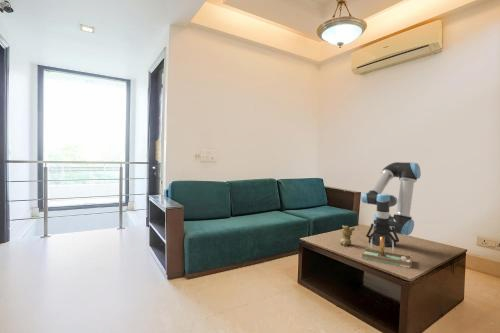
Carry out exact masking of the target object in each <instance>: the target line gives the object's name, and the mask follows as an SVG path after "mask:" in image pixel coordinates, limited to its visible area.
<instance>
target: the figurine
mask: <svg viewBox="0 0 500 333" xmlns="http://www.w3.org/2000/svg"><path fill="white" fill-rule="evenodd" d="M341 227H342V230H341V231H342V232H341V233H342V235H341V236H342V237H341V238H340V239H339V244H340V245H342V246H344V247H349V246H351V244H352V240H351V238H352V237H351V236H352V235H353V232H354V231H355V229H356V228H355V227H349V226H348V225H344V224H342V226H341Z"/></svg>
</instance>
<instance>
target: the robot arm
mask: <svg viewBox="0 0 500 333" xmlns="http://www.w3.org/2000/svg"><path fill="white" fill-rule="evenodd" d="M421 173H422V172H421V167H420V164H419V163H417V162H412V161H411V162H401V161H400V162H391V163H390V164H388V165H386V166H385V167H384V168H383V169H382V170H381V171H380V175H379V177H378V178H377V180H376V181H375V182H374V184H373V185H372V187H371V188H370V189H369V191H368V192H363V193H362V194H361V202H362V203H363V204H368V205H375V206H376V214H374V215H373V223H371V224H370V227H369V229H368V231H367V233H366V235H365V237H366V238H368V243H369V244H370V247H369V249H373V245H375V246H378V247H380V236H384V247H392V248H391V252H392V253H395V248H396V247H397V243H399V242H400V238H399V237H398V235H403V236H410V235H412V233H413V231H414V227H415V221H414V220H413V219H412V218H413V217H412V216H411V210H412V207H411V206H412V202H413V201H412V200H413V199H412V198H413V193H414V185H415V183H416V182H417V181H418V179H420V178H421ZM394 178H398V180H399V182H400V185H399V192H398V198H397V197H396V196H395V195H393V194H388V193H383V192H384V190H385V188H386V187H387V186H388V184H389V182H390V181H391V180H393V179H394ZM396 205H397V206H396ZM394 206H396V212H395V213H393V216H392V215H391V214H390V208H391V207H394ZM372 230H373V231H372ZM371 232H372V233H371ZM392 233H393V235H394V236H393V235H392Z"/></svg>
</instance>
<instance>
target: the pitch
mask: <svg viewBox="0 0 500 333" xmlns="http://www.w3.org/2000/svg"><path fill="white" fill-rule="evenodd" d="M364 249H365V251H364V253H363V252H362V253H361V258H362V259H364V260H368V261H373V262H379V263H383V264H388V265H393V266H398V267H399V266H400V267H405V268H409V269H412V265H413V254H412V255H409V254H408V255H407V254H403V253H397V252H392V251H386V250H384V254H385V252H387V257H380V256H378V254H379V249H375V248H374V249H373V248H372V249H371V248H370V247H369V248H368V247H365V248H364ZM401 256H405V257H406V258H407V261H402V260H401Z"/></svg>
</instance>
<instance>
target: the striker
mask: <svg viewBox="0 0 500 333" xmlns="http://www.w3.org/2000/svg"><path fill="white" fill-rule="evenodd" d="M378 247H379V249H378V250H379V254H378V256H380V257H387V252H388V251H386V252H385V254H384V251H385V246H384V236H380V246H378Z"/></svg>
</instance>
